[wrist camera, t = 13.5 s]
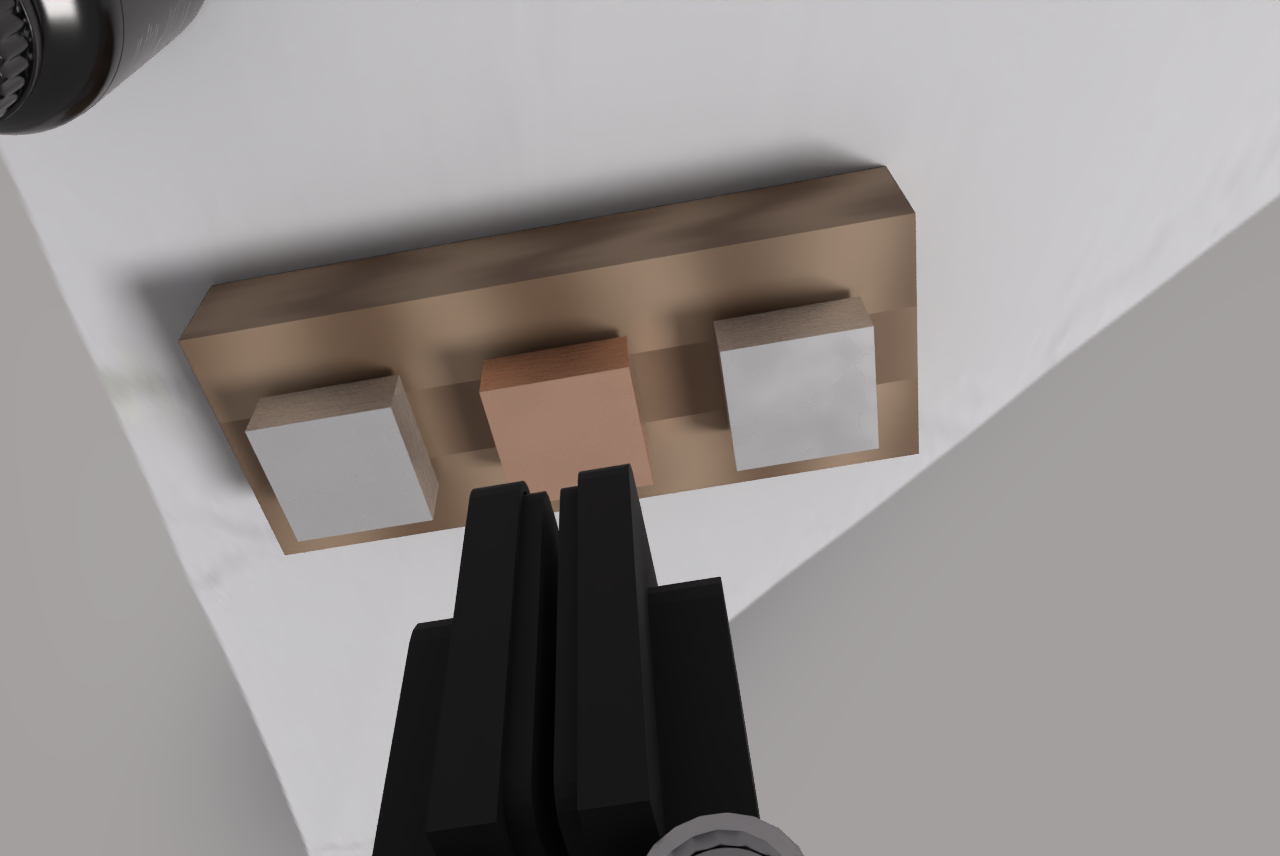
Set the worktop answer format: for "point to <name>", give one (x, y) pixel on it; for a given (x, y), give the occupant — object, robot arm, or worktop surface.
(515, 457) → the middle button
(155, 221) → the worktop surface
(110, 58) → the supplement bottle
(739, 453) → the button
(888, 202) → the button panel
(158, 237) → the worktop surface
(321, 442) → the button
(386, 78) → the worktop surface
